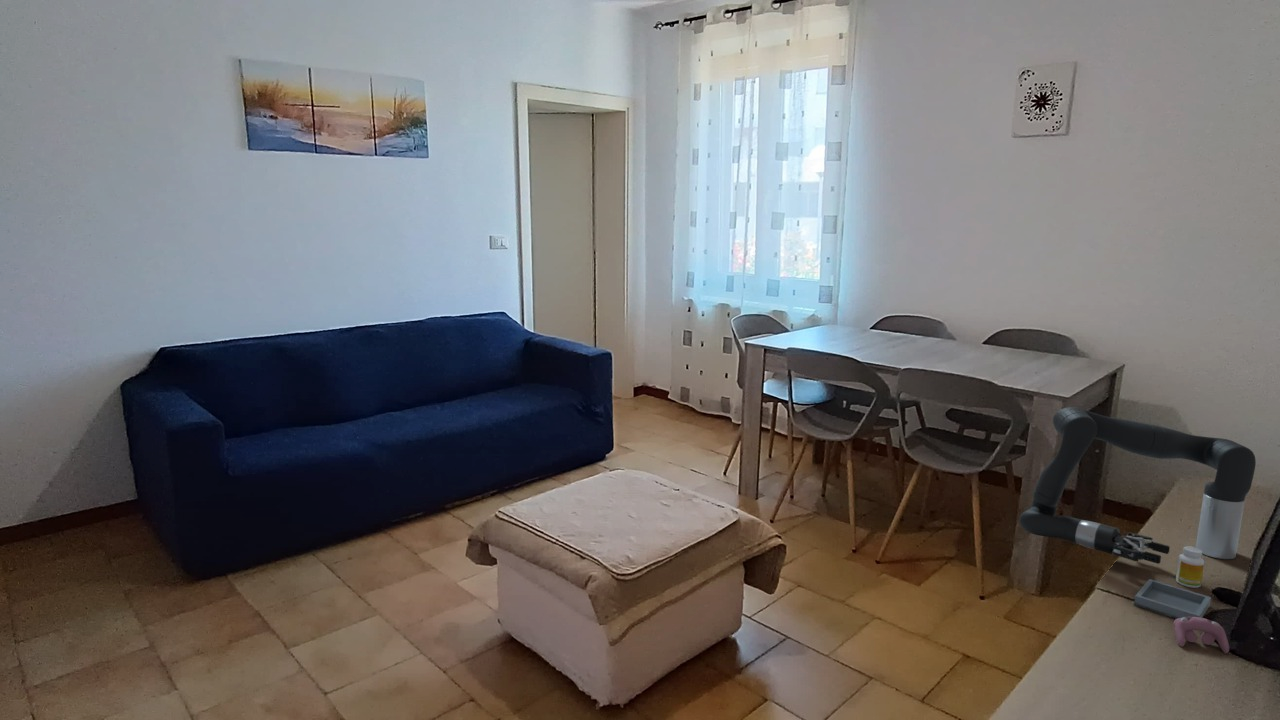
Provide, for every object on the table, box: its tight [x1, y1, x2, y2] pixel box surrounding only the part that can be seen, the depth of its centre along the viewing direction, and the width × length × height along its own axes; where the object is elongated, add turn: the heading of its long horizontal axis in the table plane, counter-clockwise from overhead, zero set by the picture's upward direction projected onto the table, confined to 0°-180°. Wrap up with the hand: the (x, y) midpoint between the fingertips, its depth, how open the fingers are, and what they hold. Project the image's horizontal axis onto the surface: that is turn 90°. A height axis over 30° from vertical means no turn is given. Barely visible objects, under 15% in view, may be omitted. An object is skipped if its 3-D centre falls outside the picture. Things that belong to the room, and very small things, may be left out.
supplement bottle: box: [1175, 545, 1205, 589], centre depth 192 cm, size 5×5×10 cm
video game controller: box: [1173, 617, 1230, 654], centre depth 165 cm, size 10×5×7 cm, turn 71°
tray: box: [1133, 578, 1212, 620], centre depth 182 cm, size 13×13×2 cm
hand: (1164, 555), depth 196 cm, fingers open, 8 cm apart
